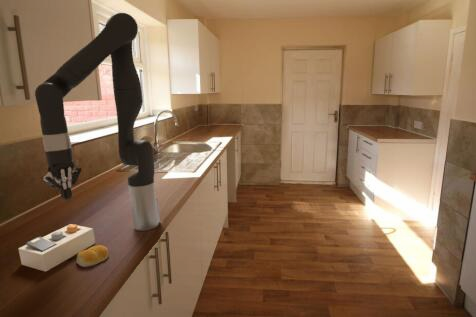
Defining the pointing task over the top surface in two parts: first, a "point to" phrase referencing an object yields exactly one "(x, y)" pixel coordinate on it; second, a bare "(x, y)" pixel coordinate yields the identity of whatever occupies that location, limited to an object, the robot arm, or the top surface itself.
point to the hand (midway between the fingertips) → (67, 199)
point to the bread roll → (92, 256)
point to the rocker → (40, 244)
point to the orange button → (72, 229)
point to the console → (57, 249)
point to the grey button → (57, 236)
